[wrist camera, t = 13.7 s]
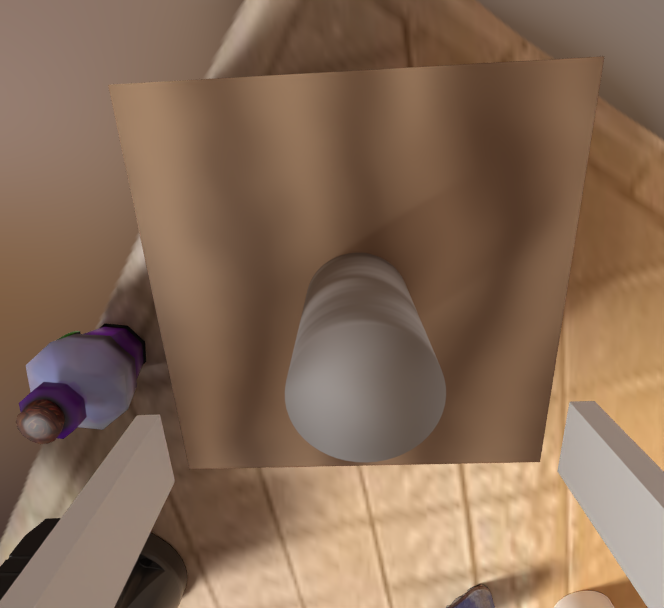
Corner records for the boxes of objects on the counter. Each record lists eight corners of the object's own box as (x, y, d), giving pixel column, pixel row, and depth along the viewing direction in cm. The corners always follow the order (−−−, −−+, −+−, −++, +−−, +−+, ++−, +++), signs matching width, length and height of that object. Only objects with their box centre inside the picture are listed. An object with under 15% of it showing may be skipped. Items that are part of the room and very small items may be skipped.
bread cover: (233, 373, 42) (120, 617, 21) (193, 103, 34) (-72, 44, 12) (482, 366, 41) (631, 613, 20) (507, 86, 33) (821, -11, 11)
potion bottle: (87, 292, 40) (-13, 353, 28) (175, 332, 41) (112, 406, 30) (63, 364, 42) (-37, 446, 31) (146, 400, 44) (78, 491, 33)
